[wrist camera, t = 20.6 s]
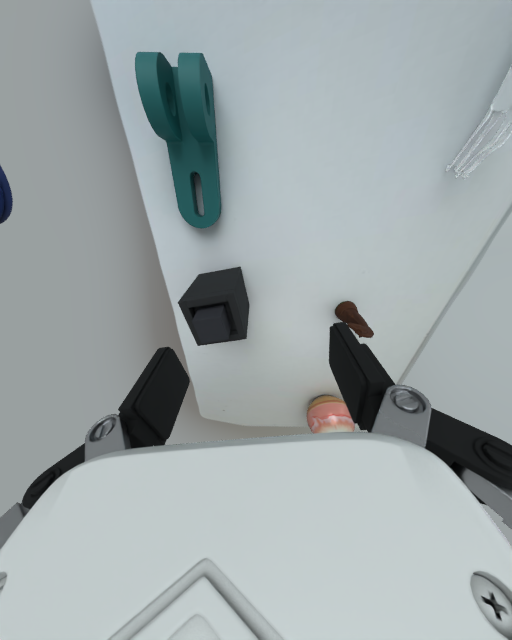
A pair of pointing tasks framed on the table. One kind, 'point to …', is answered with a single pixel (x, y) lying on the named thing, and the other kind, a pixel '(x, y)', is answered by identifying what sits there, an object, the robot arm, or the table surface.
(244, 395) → the table surface
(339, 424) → the vase
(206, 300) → the black rectangular box
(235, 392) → the table surface
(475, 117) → the table surface
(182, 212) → the bracket
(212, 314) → the dark grey cube
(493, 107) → the llama figurine
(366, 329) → the chess piece
